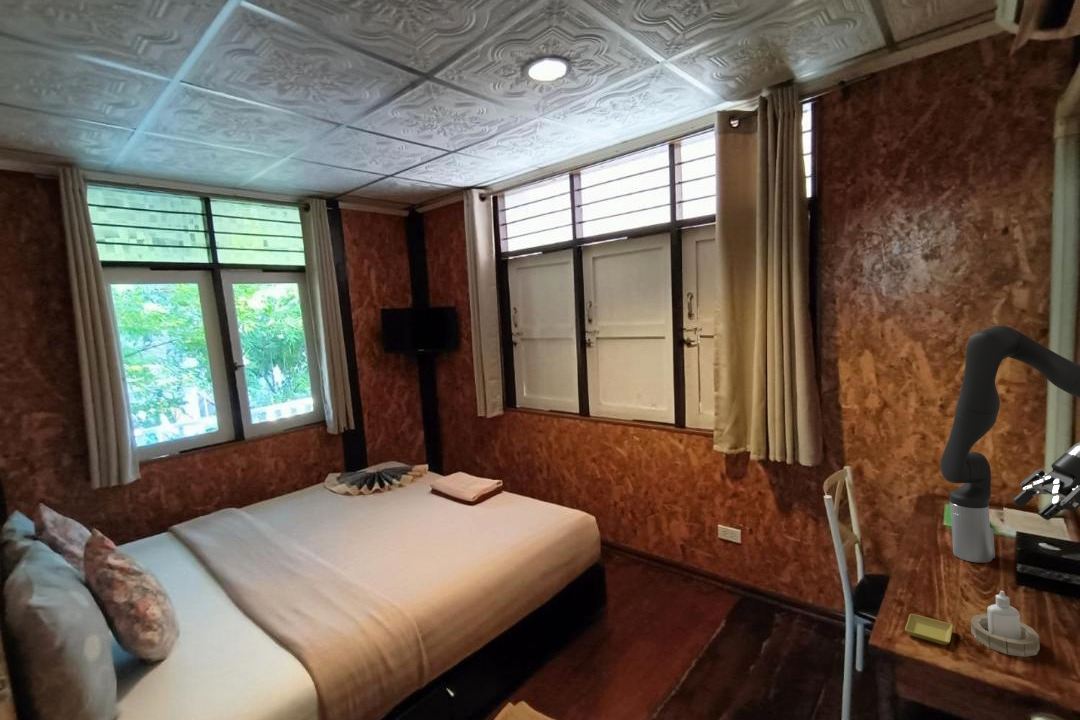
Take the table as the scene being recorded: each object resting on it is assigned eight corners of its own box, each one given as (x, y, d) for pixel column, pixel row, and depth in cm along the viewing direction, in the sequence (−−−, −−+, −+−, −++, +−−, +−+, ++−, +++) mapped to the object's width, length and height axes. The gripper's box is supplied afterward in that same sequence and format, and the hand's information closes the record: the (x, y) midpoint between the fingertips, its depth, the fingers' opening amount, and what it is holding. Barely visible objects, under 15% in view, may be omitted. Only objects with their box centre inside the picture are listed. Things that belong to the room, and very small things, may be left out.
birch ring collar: (1000, 622, 121) (1000, 610, 121) (1053, 651, 110) (1052, 638, 109) (959, 629, 120) (958, 618, 120) (1008, 660, 109) (1007, 647, 108)
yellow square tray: (950, 651, 114) (949, 642, 114) (904, 637, 120) (904, 629, 120) (954, 632, 120) (953, 624, 120) (910, 620, 126) (910, 612, 126)
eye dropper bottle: (1021, 649, 111) (1018, 599, 111) (988, 640, 115) (985, 591, 115) (1022, 640, 114) (1019, 591, 114) (989, 631, 118) (986, 583, 118)
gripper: (1047, 445, 122) (996, 490, 125) (1096, 460, 108) (1037, 510, 112) (1074, 464, 121) (1021, 510, 124) (1127, 483, 107) (1066, 533, 111)
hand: (1029, 510), depth 118 cm, fingers open, 8 cm apart
